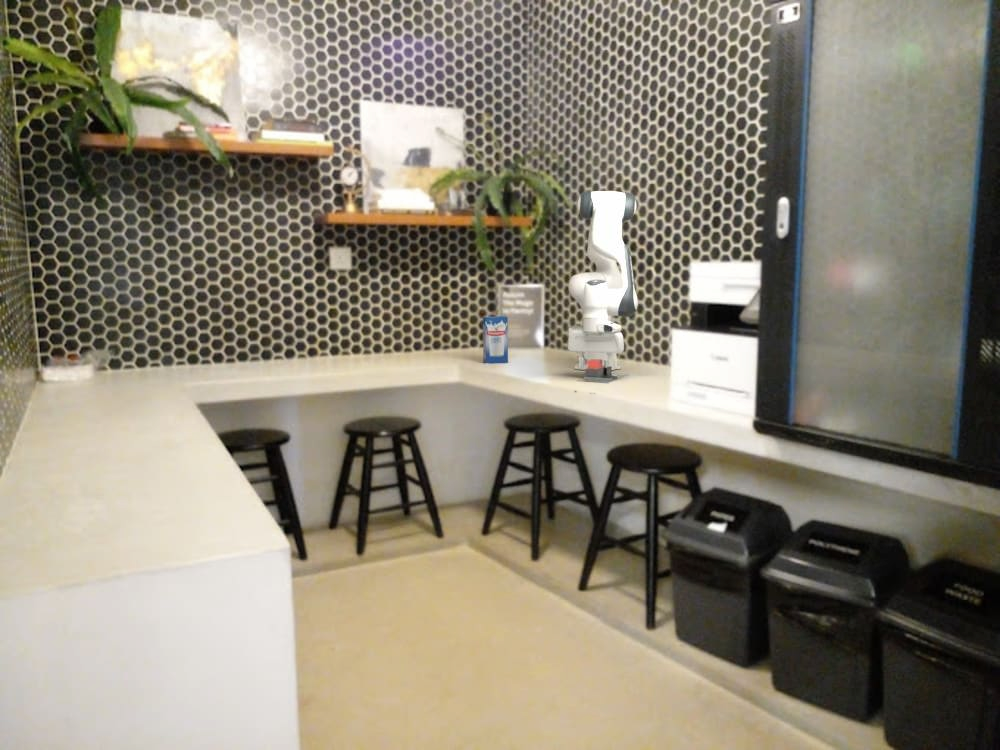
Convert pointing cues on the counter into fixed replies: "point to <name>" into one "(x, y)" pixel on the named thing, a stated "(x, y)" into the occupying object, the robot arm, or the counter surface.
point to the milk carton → (495, 339)
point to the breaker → (594, 373)
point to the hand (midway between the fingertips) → (595, 365)
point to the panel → (606, 378)
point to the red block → (595, 364)
